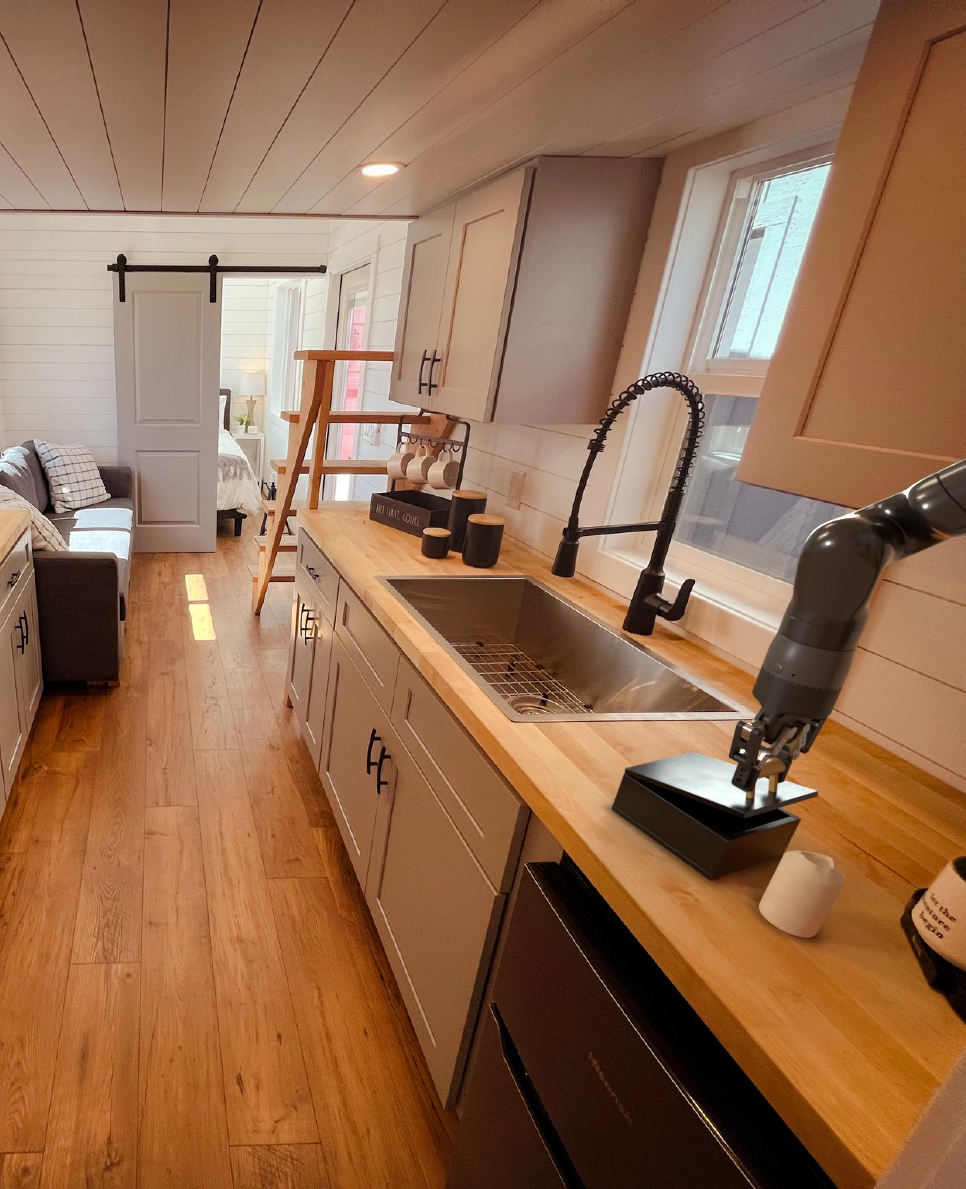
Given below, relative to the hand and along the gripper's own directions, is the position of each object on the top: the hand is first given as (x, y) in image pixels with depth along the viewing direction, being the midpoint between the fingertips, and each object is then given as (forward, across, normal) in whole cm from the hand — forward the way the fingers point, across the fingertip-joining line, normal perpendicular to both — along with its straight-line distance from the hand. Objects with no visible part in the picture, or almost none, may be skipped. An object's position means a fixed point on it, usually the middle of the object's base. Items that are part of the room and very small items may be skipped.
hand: (756, 783), depth 86 cm
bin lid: (+3, 0, +4) cm, 5 cm away
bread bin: (+12, 0, +5) cm, 13 cm away
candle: (+13, -5, -10) cm, 17 cm away
